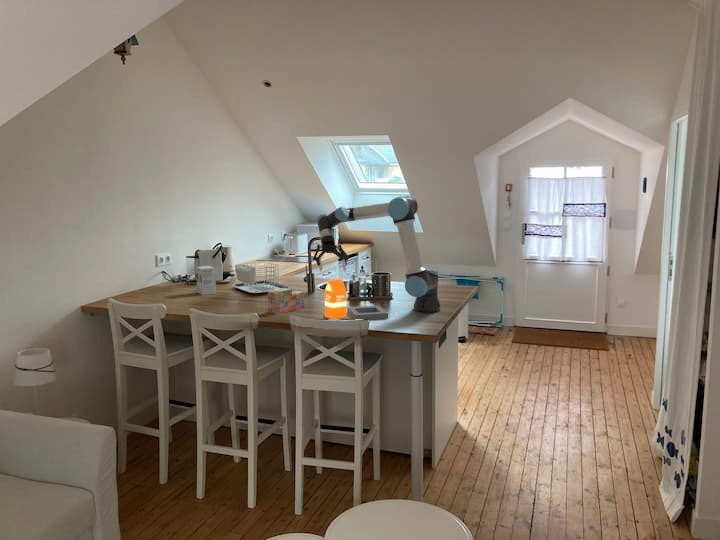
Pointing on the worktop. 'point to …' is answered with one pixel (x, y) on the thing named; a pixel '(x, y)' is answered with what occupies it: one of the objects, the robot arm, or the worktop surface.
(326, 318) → the mat
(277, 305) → the patterned cardboard box
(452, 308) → the worktop surface
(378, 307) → the puzzle board
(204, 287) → the supplement box
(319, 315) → the worktop surface
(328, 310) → the orange juice
